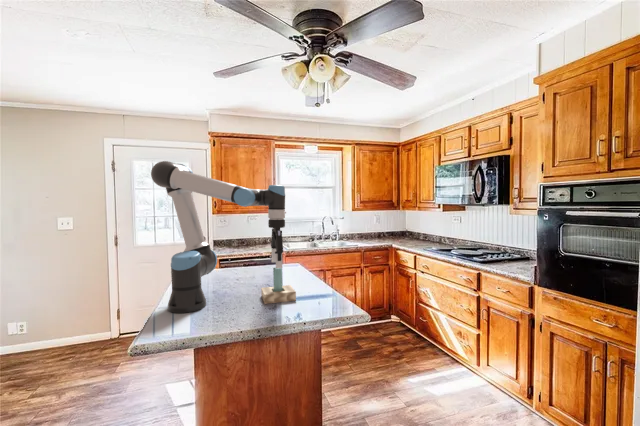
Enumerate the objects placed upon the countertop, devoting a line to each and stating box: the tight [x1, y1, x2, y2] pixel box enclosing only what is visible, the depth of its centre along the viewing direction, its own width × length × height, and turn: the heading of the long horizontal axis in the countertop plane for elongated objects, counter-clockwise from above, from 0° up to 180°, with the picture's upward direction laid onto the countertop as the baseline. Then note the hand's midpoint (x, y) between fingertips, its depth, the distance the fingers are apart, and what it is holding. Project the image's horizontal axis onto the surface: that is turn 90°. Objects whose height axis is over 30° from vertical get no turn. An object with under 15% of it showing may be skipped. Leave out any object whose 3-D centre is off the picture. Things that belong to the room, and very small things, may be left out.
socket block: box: [260, 284, 297, 305], centre depth 146 cm, size 14×12×4 cm
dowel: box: [272, 267, 283, 292], centre depth 146 cm, size 4×4×14 cm
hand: (276, 265), depth 146 cm, fingers open, 13 cm apart
